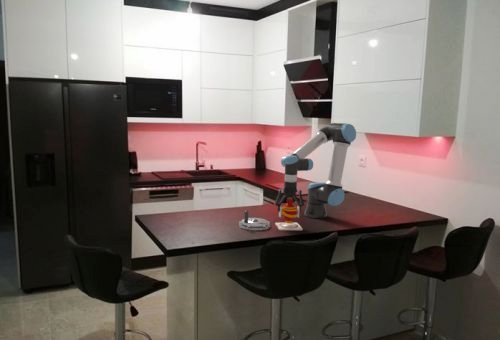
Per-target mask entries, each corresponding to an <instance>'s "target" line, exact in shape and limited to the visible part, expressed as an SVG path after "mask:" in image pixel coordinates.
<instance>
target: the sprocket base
mask: <svg viewBox="0 0 500 340" xmlns="http://www.w3.org/2000/svg"><path fill="white" fill-rule="evenodd" d="M238 227H239V229H243V230H245V231H251V230H252V231H253V232H258V231H267V230H269V229H271V225H270V224H268V225H267V226H266V227H261V228H251V227H246V226H243V225H242V224H239V223H238Z"/></svg>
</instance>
